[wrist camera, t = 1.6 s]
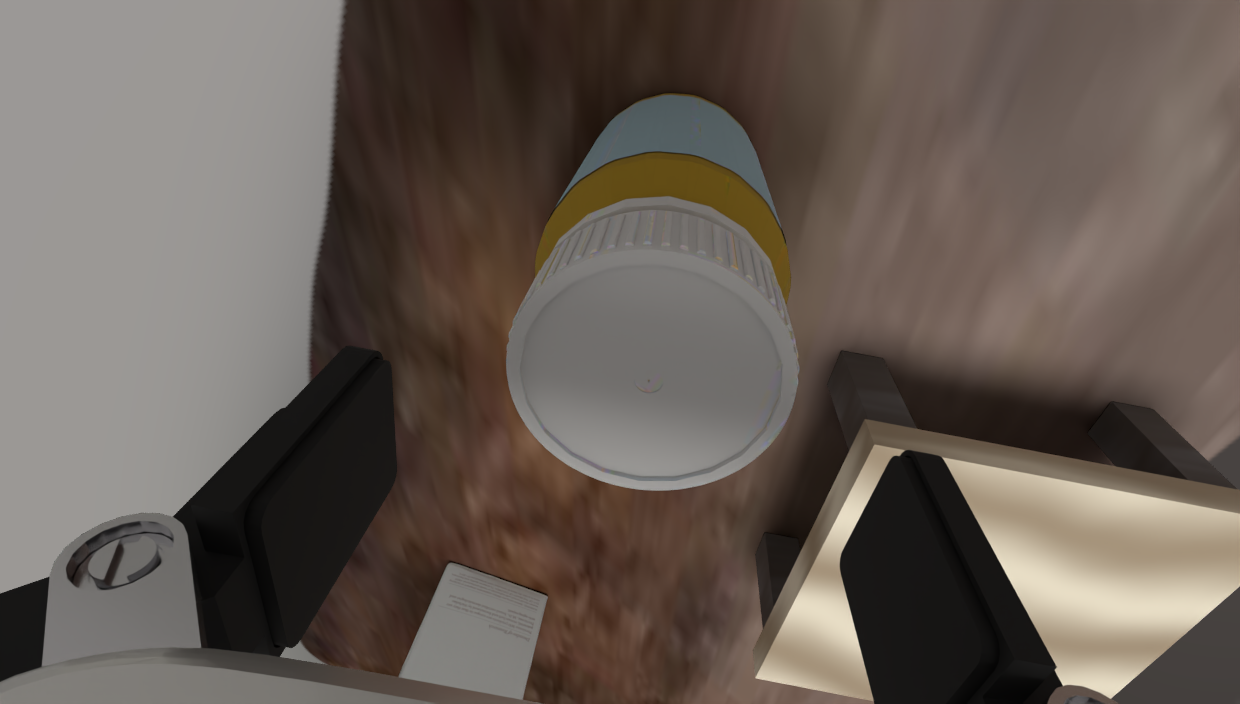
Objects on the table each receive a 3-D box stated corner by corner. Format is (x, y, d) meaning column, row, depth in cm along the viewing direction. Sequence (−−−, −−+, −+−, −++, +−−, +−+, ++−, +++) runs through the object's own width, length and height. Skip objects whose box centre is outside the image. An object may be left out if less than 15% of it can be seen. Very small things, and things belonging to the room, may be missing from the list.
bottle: (644, 283, 28) (601, 538, 15) (558, 150, 25) (416, 328, 12) (785, 208, 25) (875, 440, 13) (706, 52, 22) (719, 149, 10)
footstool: (834, 339, 28) (874, 444, 22) (1170, 403, 28) (1308, 526, 22) (745, 558, 37) (755, 678, 31) (1001, 607, 37) (1065, 738, 30)
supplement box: (448, 557, 40) (358, 768, 29) (551, 594, 41) (500, 811, 30) (424, 616, 44) (337, 820, 33) (519, 648, 45) (464, 857, 34)
